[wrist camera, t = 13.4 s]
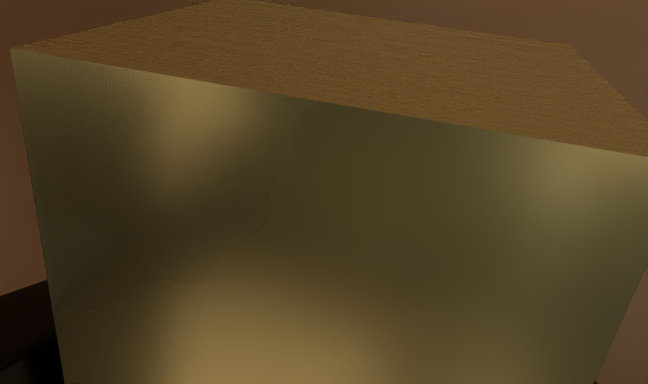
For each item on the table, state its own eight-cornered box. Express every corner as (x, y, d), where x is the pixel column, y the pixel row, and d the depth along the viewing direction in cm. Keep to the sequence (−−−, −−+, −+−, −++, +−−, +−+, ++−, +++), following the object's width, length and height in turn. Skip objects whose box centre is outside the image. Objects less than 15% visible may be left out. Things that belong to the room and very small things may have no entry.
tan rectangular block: (463, 393, 9) (462, 671, 6) (222, 331, 10) (90, 544, 6) (570, 44, 7) (691, 165, 3) (229, -4, 7) (8, 48, 4)
